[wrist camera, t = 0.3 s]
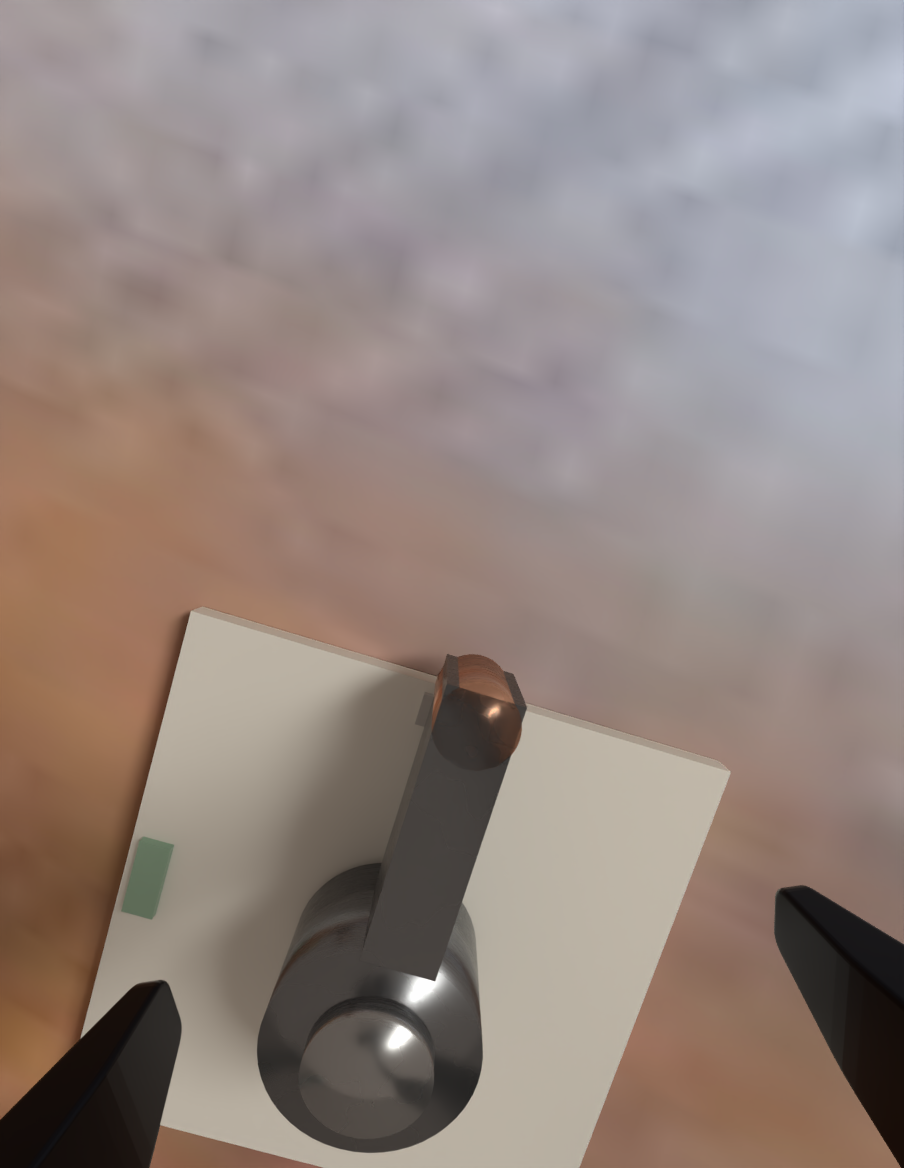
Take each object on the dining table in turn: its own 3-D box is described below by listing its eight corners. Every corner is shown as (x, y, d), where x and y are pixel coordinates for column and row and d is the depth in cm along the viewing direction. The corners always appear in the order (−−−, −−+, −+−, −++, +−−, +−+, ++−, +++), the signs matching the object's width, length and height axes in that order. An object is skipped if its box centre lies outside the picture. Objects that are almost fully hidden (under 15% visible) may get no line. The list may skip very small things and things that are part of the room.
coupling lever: (445, 1048, 23) (444, 1206, 17) (274, 1001, 22) (221, 1148, 17) (572, 677, 21) (613, 730, 16) (388, 621, 20) (368, 657, 15)
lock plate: (551, 1199, 25) (557, 1237, 24) (80, 1075, 24) (59, 1107, 23) (718, 760, 23) (735, 775, 21) (202, 606, 22) (187, 612, 20)
